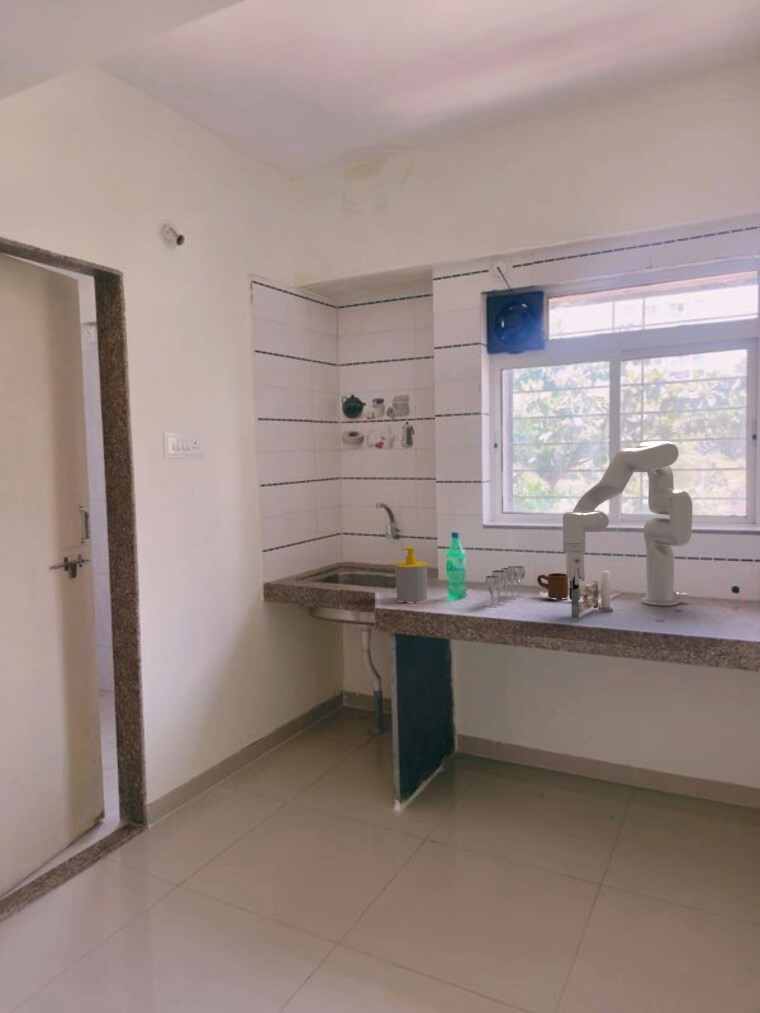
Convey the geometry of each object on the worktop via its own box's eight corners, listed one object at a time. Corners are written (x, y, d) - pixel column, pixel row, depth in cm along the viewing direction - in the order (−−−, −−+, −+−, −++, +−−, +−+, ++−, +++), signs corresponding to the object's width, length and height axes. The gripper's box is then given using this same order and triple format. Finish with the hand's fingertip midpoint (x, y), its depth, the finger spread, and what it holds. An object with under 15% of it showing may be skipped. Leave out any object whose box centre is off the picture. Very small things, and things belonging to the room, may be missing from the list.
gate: (594, 606, 247) (594, 580, 246) (599, 607, 246) (598, 581, 245) (571, 618, 232) (571, 590, 231) (576, 618, 231) (576, 591, 230)
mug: (534, 598, 268) (534, 575, 267) (540, 595, 275) (539, 571, 274) (565, 601, 262) (565, 577, 261) (570, 597, 269) (570, 573, 268)
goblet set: (496, 610, 251) (495, 574, 250) (482, 608, 254) (481, 573, 253) (528, 596, 273) (527, 563, 272) (515, 595, 277) (514, 562, 276)
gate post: (610, 608, 248) (609, 570, 247) (613, 611, 243) (612, 572, 242) (598, 608, 248) (598, 570, 247) (601, 611, 243) (601, 572, 242)
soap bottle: (395, 597, 279) (394, 545, 277) (427, 596, 278) (426, 544, 277) (395, 604, 266) (393, 550, 264) (428, 603, 265) (427, 549, 264)
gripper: (589, 550, 231) (589, 604, 232) (581, 544, 246) (581, 594, 247) (566, 550, 231) (567, 604, 233) (559, 544, 246) (560, 595, 248)
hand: (574, 599), depth 240 cm, fingers closed
